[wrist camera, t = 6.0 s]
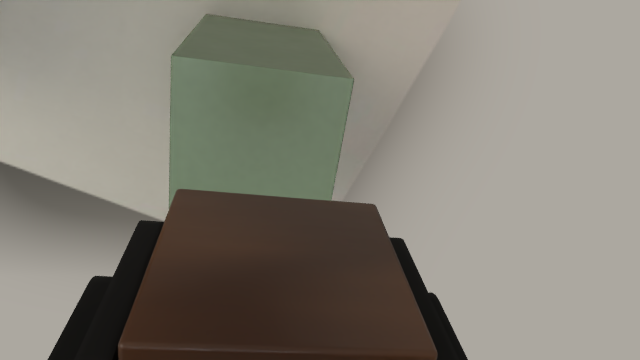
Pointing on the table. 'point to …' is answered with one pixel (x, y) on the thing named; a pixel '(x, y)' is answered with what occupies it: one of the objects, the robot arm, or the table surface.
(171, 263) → the block
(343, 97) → the block
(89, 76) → the table surface
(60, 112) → the table surface
